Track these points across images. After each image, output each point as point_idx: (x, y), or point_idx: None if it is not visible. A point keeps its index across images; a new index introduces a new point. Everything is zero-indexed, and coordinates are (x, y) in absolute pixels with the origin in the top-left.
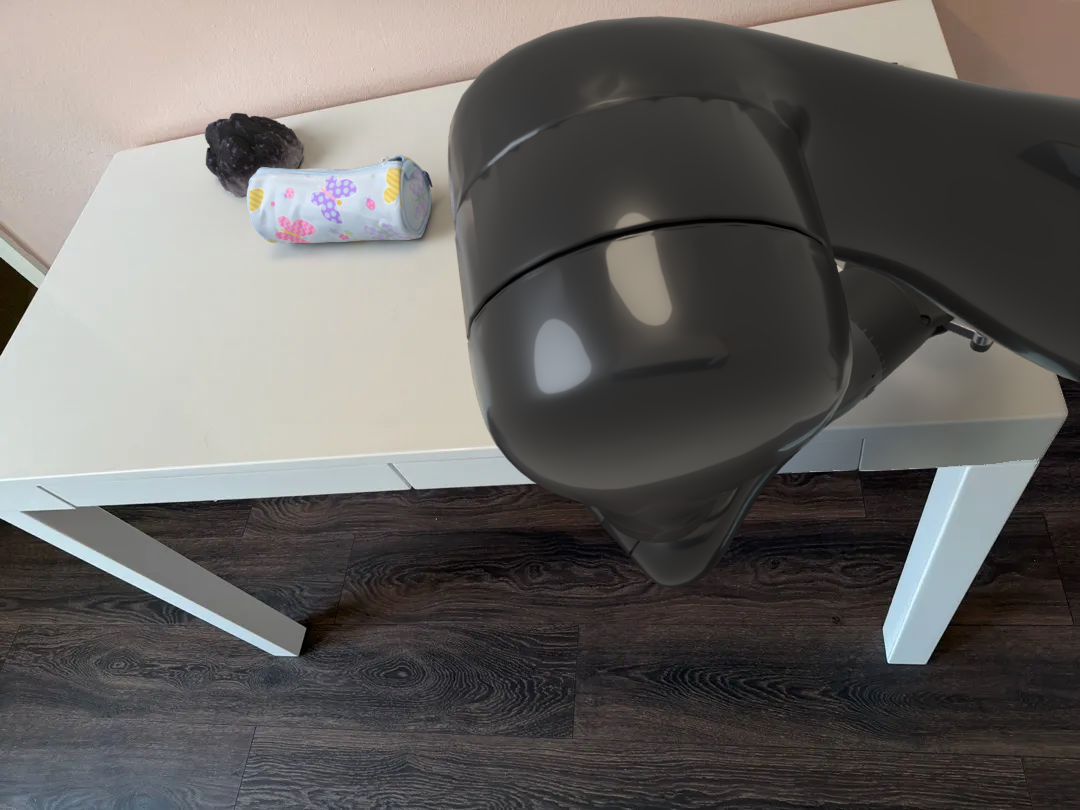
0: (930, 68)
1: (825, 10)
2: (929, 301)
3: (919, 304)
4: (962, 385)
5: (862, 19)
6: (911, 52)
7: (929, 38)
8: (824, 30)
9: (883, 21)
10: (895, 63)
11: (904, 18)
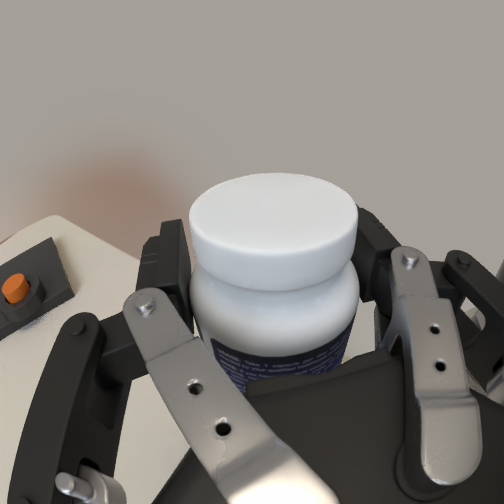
0: (72, 232)
1: (5, 239)
2: (490, 467)
3: (487, 497)
4: None
5: (25, 232)
6: (58, 231)
7: (64, 221)
8: (7, 247)
9: (36, 227)
10: (50, 237)
11: (46, 221)
